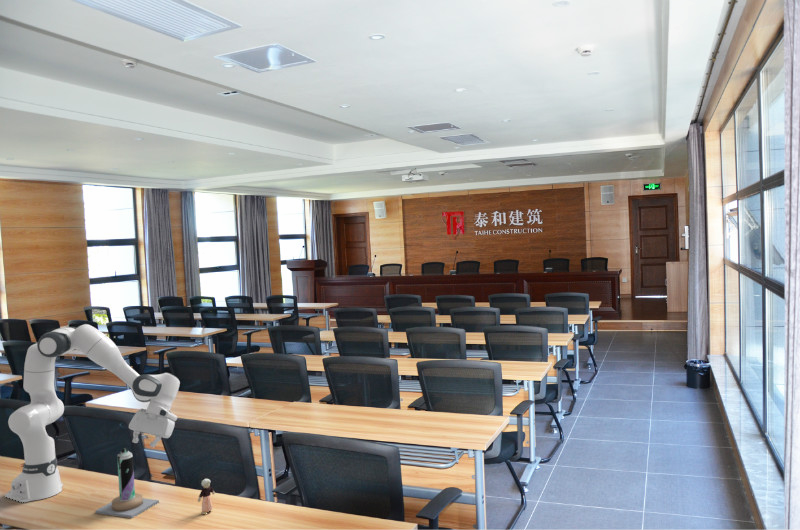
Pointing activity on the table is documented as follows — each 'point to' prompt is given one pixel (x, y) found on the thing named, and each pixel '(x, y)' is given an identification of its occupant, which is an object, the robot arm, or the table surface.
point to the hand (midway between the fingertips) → (143, 444)
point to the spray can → (126, 475)
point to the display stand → (127, 506)
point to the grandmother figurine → (206, 496)
